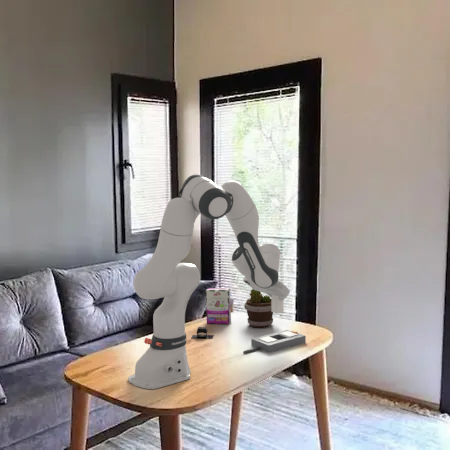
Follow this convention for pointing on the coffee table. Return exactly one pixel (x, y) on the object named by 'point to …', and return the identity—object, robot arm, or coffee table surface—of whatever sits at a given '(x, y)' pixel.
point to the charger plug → (276, 304)
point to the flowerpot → (259, 310)
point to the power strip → (277, 341)
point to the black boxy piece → (202, 336)
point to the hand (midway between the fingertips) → (278, 297)
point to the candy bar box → (218, 306)
